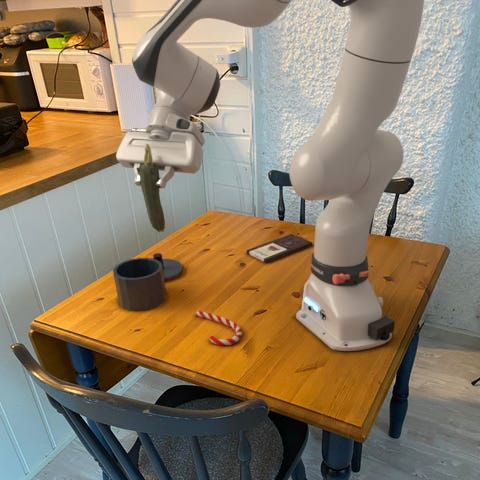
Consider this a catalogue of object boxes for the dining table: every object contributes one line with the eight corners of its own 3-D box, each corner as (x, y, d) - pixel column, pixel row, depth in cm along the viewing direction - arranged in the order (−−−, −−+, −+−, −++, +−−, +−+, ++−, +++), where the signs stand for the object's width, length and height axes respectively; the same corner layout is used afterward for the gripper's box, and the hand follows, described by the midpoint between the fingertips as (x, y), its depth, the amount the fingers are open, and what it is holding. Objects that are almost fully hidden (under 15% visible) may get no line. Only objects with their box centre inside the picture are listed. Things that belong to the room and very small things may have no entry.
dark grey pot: (169, 306, 113) (165, 274, 109) (120, 314, 111) (114, 282, 106) (162, 284, 123) (158, 254, 118) (117, 291, 120) (111, 261, 116)
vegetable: (161, 237, 108) (149, 147, 97) (144, 235, 109) (130, 146, 98) (169, 230, 111) (159, 142, 100) (153, 228, 113) (141, 141, 102)
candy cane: (208, 305, 110) (250, 331, 101) (208, 309, 111) (250, 336, 101) (180, 317, 106) (222, 345, 96) (181, 322, 107) (222, 350, 97)
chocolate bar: (312, 242, 140) (266, 260, 130) (312, 245, 140) (266, 263, 131) (291, 233, 146) (246, 250, 136) (291, 236, 146) (246, 253, 137)
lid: (186, 278, 125) (184, 261, 122) (139, 286, 122) (135, 268, 119) (178, 259, 135) (176, 242, 132) (134, 266, 132) (131, 249, 130)
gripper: (121, 119, 106) (102, 174, 104) (200, 123, 99) (183, 182, 97) (135, 136, 112) (118, 188, 110) (211, 140, 105) (195, 197, 103)
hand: (149, 185), depth 104 cm, fingers closed on vegetable, 4 cm apart
